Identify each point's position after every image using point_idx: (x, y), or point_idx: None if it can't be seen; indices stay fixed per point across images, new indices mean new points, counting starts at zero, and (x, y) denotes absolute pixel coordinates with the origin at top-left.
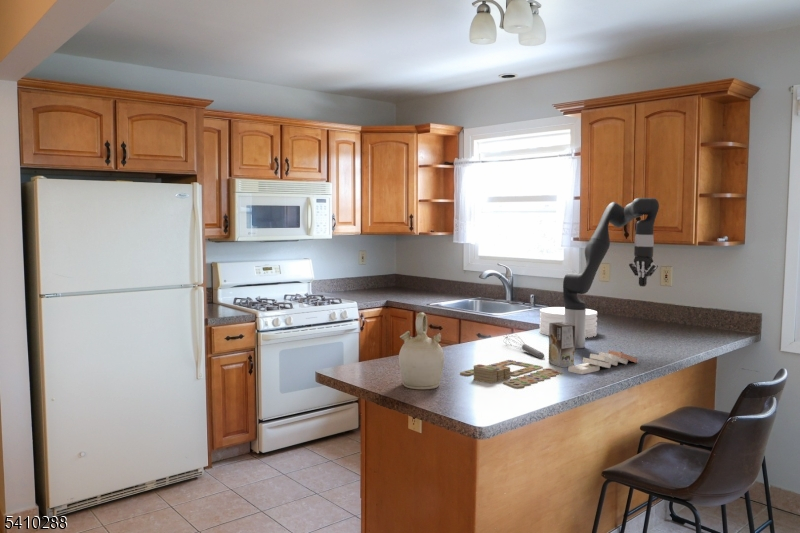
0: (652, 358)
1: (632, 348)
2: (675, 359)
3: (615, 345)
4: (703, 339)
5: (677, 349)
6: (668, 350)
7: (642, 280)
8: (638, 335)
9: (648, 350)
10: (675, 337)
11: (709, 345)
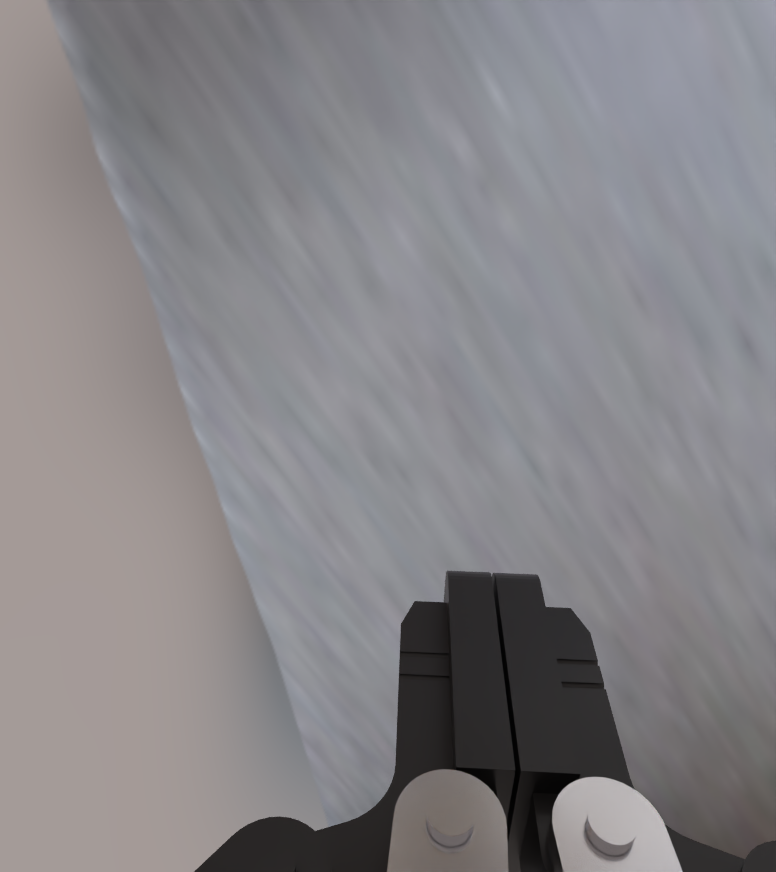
0: (275, 129)
1: (590, 347)
2: (170, 253)
3: (743, 341)
4: None
5: (377, 547)
6: (391, 481)
7: (458, 689)
8: (766, 721)
9: (473, 377)
10: None
11: (345, 745)
